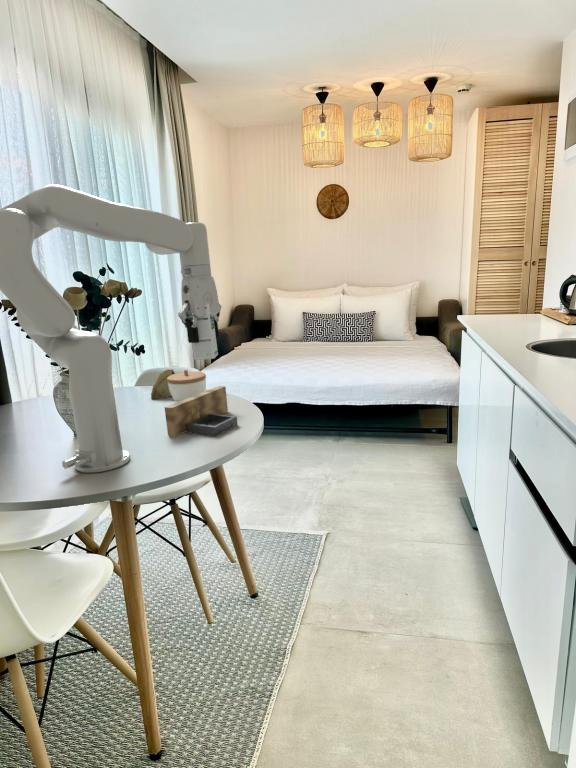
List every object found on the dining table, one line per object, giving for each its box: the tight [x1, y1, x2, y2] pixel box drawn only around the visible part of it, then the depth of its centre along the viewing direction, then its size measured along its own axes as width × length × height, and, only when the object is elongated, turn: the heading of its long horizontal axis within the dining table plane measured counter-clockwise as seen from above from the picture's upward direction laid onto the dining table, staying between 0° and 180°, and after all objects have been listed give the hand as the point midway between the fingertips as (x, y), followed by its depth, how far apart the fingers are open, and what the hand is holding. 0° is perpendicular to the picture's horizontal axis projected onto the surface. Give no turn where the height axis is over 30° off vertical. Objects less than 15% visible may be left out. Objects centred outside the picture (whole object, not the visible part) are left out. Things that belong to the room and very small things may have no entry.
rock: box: [150, 369, 176, 400], centre depth 185 cm, size 11×9×10 cm
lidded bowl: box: [167, 369, 207, 403], centre depth 174 cm, size 13×13×11 cm
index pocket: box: [186, 413, 238, 437], centre depth 145 cm, size 10×10×2 cm
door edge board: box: [164, 385, 229, 437], centre depth 151 cm, size 24×3×8 cm, turn 150°
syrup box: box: [188, 304, 219, 361], centre depth 139 cm, size 6×6×14 cm
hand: (204, 339), depth 140 cm, fingers closed on syrup box, 7 cm apart
